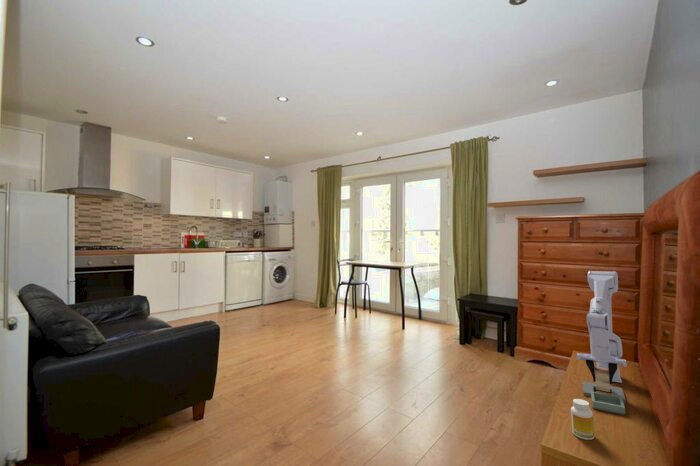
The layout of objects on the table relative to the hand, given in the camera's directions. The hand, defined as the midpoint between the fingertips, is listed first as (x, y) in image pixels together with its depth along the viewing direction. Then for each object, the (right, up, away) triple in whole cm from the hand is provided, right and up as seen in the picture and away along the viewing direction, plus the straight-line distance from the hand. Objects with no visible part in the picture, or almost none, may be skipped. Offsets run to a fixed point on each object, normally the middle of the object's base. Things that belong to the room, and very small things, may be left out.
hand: (602, 382), depth 119 cm
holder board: (0, -4, 0) cm, 4 cm away
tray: (-5, -4, -9) cm, 11 cm away
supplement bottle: (-25, -5, -24) cm, 35 cm away
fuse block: (0, -2, 0) cm, 2 cm away
